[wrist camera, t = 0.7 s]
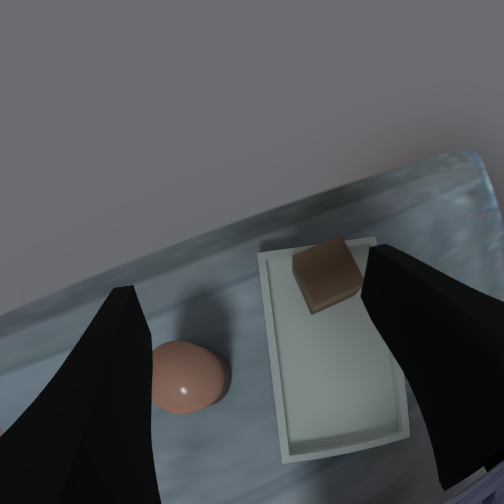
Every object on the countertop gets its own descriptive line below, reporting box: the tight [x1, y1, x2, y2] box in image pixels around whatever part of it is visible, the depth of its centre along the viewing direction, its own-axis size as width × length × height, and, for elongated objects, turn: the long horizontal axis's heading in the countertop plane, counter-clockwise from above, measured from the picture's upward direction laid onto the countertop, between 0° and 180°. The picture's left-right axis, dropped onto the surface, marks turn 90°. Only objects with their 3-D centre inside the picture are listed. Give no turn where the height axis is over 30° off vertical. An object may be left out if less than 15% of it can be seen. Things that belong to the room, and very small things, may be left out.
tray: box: [257, 236, 410, 464], centre depth 23 cm, size 17×10×2 cm, turn 6°
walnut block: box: [292, 235, 364, 315], centre depth 24 cm, size 4×4×4 cm
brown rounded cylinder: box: [152, 341, 231, 414], centre depth 22 cm, size 5×5×6 cm
